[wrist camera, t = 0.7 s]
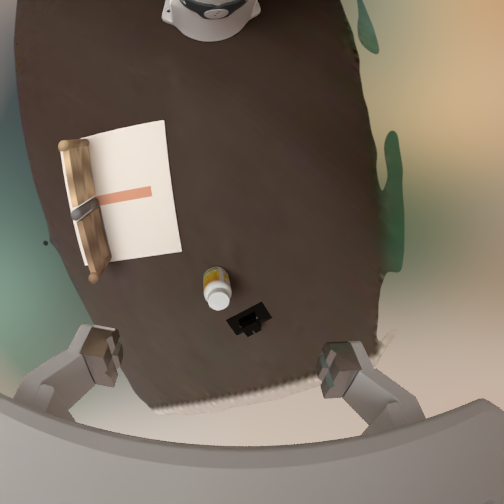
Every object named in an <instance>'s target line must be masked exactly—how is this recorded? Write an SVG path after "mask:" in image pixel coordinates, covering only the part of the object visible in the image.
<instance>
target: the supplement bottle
mask: <svg viewBox="0 0 504 504" xmlns="http://www.w3.org/2000/svg"><path fill="white" fill-rule="evenodd" d="M203 285H204V297H205V299H206V301H207V302H208V304H209V306H210V307H211V308H212V309H214V310H223V309H225V308H226V307H227V306H228V304H229V300H230V298H231V295H232V291H231V286H230V281H229V276H228V273H227V272H226V270H224V269H223V268H221V267H212V268H210V269H208V270H207V271H206V272H205V274H204V277H203Z"/></svg>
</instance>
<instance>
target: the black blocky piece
mask: <svg viewBox="0 0 504 504" xmlns="http://www.w3.org/2000/svg"><path fill="white" fill-rule="evenodd" d="M271 318H272V317H271V315H270V314H269V312H268V311H267V309H266V308H265V306H264V304H263V303H262V302H260V303H258V304H256V305H254V306H252V307H251V308H249V309H247V310H245V311H243V312H241V313H239V314H237V315H235V316H233V317H231V318H229V319H227V320H226V321H227V322H228V324H229V325H230V327H231V328H232V329H233V331H234V332H235V334H236V335H239V334H241V333H243V332H244V333H245V334H246V335H247V337H249V336H251V335H253V332H252V330H254V331H255V333H257V332H259V331H261V327H262V326H261V323H263V322H265V321H267V320H269V319H271Z"/></svg>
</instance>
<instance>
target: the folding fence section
mask: <svg viewBox="0 0 504 504" xmlns="http://www.w3.org/2000/svg"><path fill="white" fill-rule="evenodd" d="M88 145H89V140H88V139H74V140H62V141H60V142H59V145H58V148H59V150H60V151H63V156H64V163H65V170H66V176H67V182H68V187H69V193H70V198H71V203H72V208H73V207H77V206H79V205H81V204H82V203H84V202H86V201H87V200H89V199H90V198H92V197H93V196H95V195H96V194H95V188H94V183H93V177H92V170H91V164H90V156H89V149H88Z"/></svg>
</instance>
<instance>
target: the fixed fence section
mask: <svg viewBox="0 0 504 504" xmlns="http://www.w3.org/2000/svg"><path fill="white" fill-rule="evenodd" d="M98 204H99V200H98V199H97V198H96V197H93V198H92V199H90V200H89V201H87V202H86V203H84V204H82V205H81V206H79V207H78V208H76V209H75V210H73V211H72V213H71V218H72V219H73V220H75V221H77V220H78V221H77V226H78V230H79V234H80V238H81V242H82V246H83V249H84V253H85V256H86V260H87V263H88V266H89V270H90V273H91V274H90V276H89V281H90V282H91V283H93V284H95V283H97V281H98V280H99V278H100V276H101V275H102V273H103V271H104V270H105V268H106V266H107V265H108V263H109V262H110V260H111V258H112V257H111V255H110V254H109V250H108V246H107V242H106V238H105V234H104V230H103V226H102V221H101V216H100V212H99V208H94V207H96V206H97V205H98ZM93 208H94V209H93ZM90 210H91V211H90ZM89 211H90V212H89ZM86 213H87V214H86ZM85 214H86V215H85ZM81 217H82V218H81ZM80 218H81V219H80Z"/></svg>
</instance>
